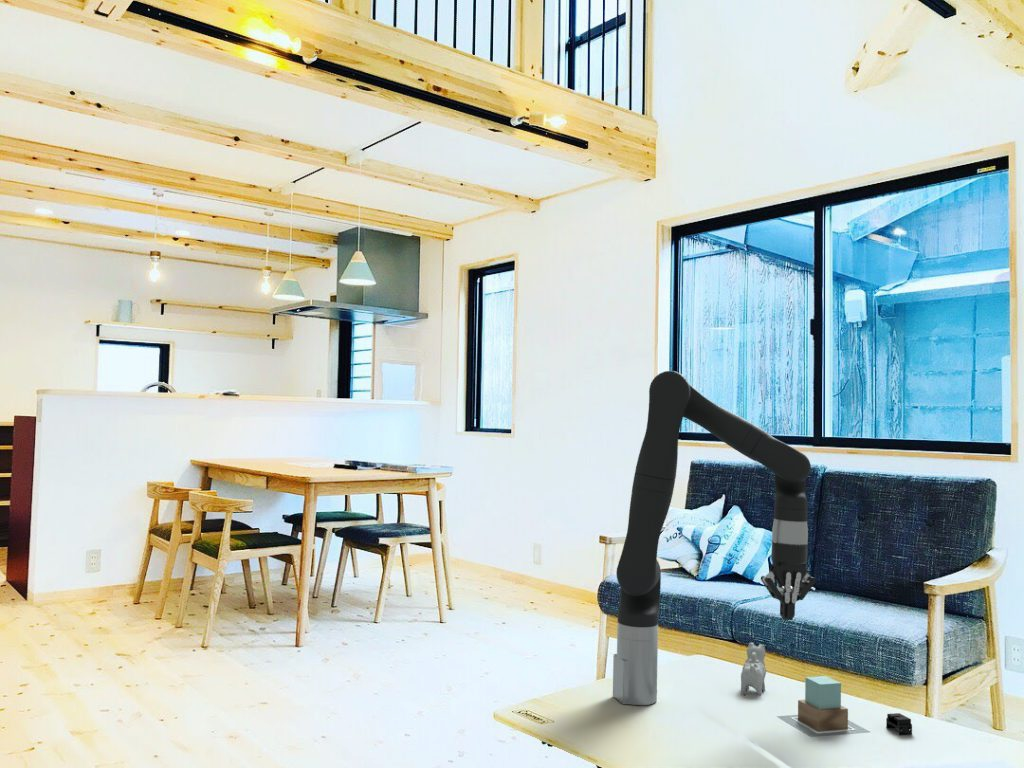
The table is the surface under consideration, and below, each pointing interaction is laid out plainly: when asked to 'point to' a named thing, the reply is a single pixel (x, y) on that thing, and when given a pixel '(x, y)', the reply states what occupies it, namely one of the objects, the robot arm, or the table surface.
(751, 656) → the dog figurine
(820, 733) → the board
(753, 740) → the table surface
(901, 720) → the black stepped block
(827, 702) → the teal cube
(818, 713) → the walnut block
